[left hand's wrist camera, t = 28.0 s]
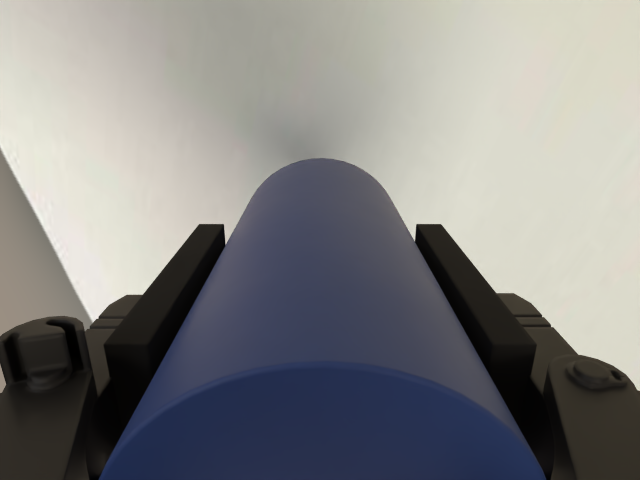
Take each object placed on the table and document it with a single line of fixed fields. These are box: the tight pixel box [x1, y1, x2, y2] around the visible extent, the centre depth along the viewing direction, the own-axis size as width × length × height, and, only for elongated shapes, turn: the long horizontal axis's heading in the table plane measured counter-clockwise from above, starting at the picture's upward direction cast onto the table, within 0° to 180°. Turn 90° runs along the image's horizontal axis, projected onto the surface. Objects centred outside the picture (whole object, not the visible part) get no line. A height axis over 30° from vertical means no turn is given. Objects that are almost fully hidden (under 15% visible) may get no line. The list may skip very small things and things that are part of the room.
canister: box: [99, 158, 546, 480], centre depth 11 cm, size 6×6×12 cm
